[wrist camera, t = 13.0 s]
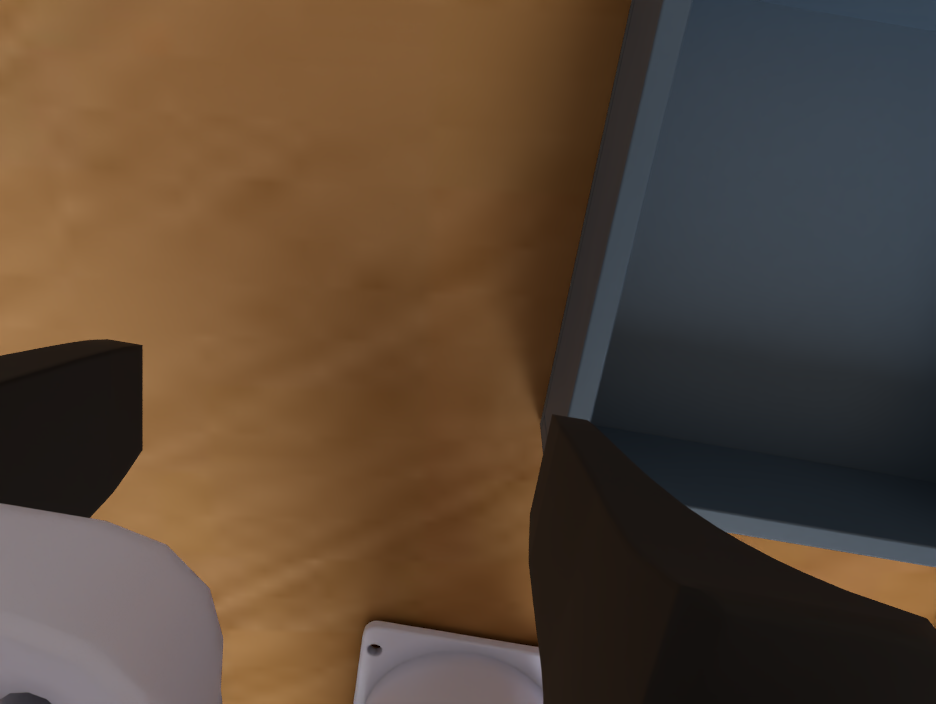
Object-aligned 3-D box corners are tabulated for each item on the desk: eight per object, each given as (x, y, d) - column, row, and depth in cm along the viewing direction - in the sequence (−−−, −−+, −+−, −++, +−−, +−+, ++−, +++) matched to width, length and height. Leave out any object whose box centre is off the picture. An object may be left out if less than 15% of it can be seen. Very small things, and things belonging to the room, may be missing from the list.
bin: (937, 491, 22) (1039, 585, 18) (539, 424, 22) (547, 503, 18) (1137, 44, 18) (1337, 27, 14) (640, -42, 18) (682, -86, 14)
